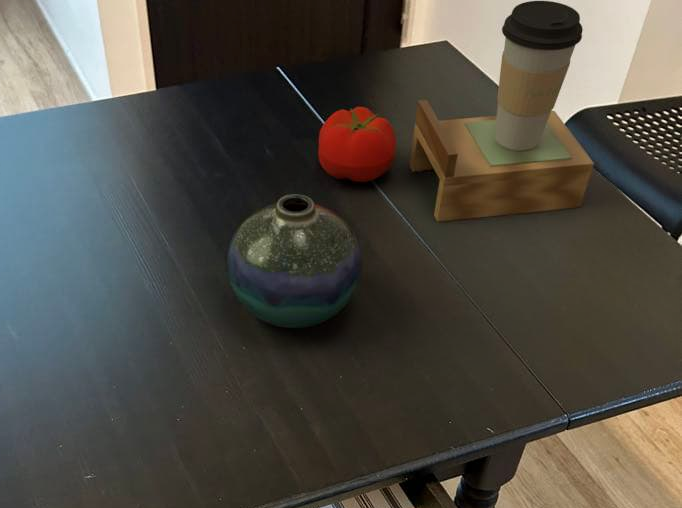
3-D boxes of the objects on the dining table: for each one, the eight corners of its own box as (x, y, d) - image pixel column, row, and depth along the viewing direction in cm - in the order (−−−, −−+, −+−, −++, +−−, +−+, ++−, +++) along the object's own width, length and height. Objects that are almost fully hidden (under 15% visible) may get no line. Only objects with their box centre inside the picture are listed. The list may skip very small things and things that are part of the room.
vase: (263, 255, 105) (262, 153, 94) (376, 287, 101) (388, 185, 90) (206, 325, 96) (197, 223, 86) (326, 364, 93) (333, 261, 82)
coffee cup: (527, 166, 105) (559, 39, 93) (466, 140, 109) (490, 15, 97) (566, 138, 109) (602, 13, 97) (506, 114, 113) (533, -9, 101)
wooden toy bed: (542, 153, 119) (560, 87, 112) (580, 207, 111) (601, 140, 104) (409, 166, 117) (418, 100, 110) (437, 222, 109) (448, 154, 102)
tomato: (381, 198, 112) (387, 144, 106) (305, 183, 115) (307, 129, 109) (401, 159, 118) (408, 106, 112) (329, 145, 120) (332, 93, 114)
